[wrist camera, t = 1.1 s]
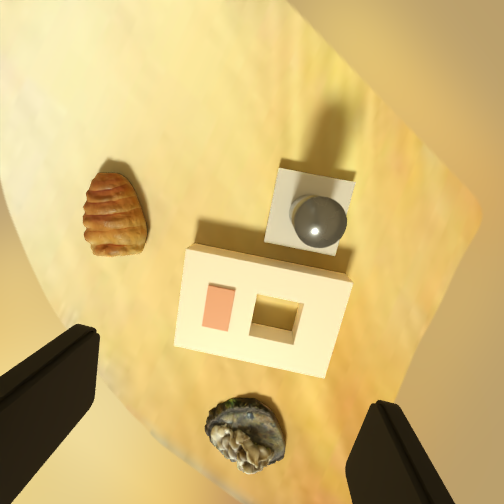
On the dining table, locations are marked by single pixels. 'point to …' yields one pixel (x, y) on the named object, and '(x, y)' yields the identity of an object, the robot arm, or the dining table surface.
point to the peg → (317, 220)
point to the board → (243, 302)
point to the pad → (291, 188)
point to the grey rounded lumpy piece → (246, 434)
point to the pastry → (113, 217)
